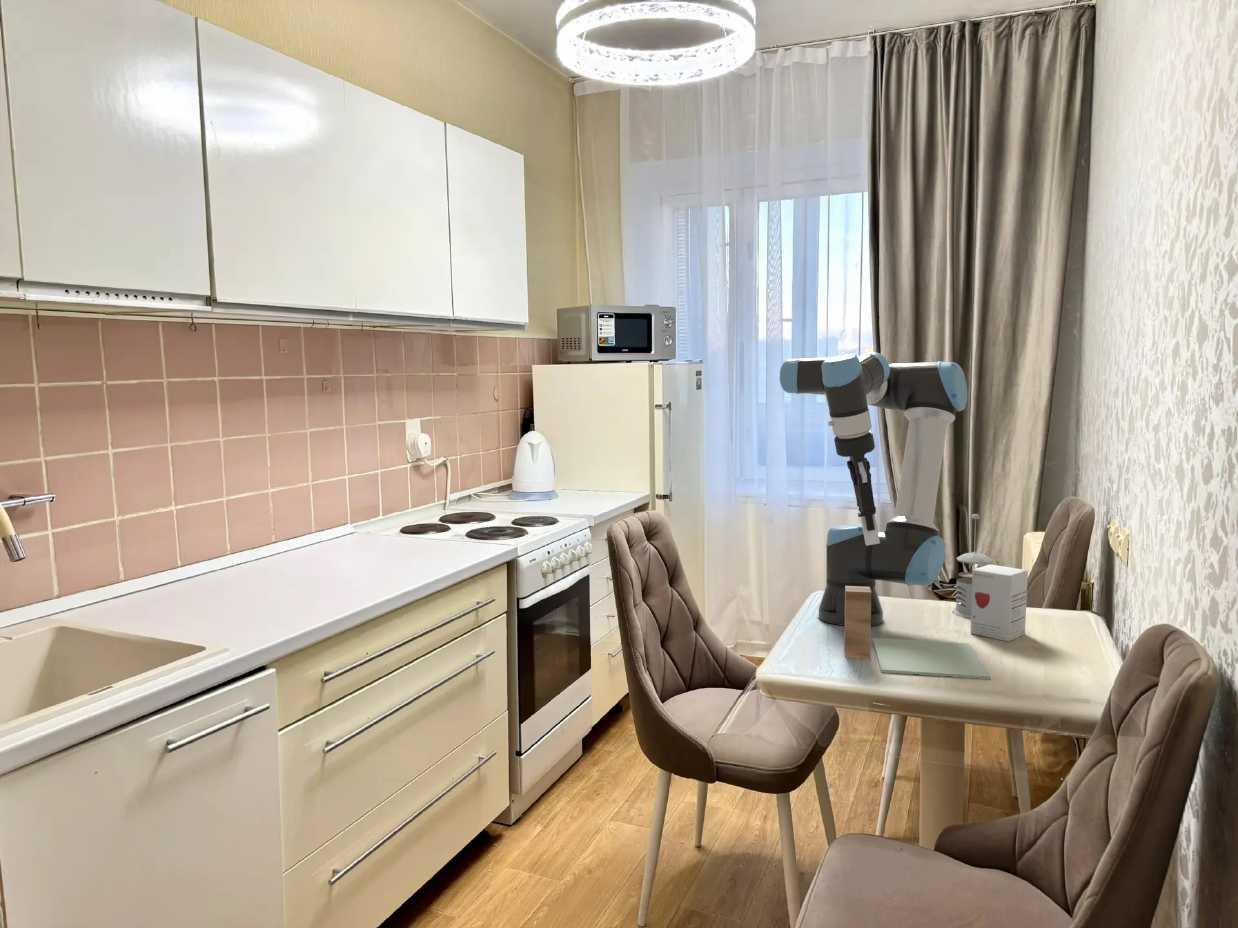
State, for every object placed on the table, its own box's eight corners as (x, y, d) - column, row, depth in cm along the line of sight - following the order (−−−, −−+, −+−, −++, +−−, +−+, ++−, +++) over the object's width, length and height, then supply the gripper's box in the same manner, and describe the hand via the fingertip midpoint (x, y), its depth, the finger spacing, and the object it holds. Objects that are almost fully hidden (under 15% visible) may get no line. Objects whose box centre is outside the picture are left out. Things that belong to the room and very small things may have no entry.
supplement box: (968, 633, 191) (970, 568, 189) (986, 626, 197) (988, 563, 195) (1009, 642, 184) (1011, 575, 183) (1026, 634, 190) (1028, 569, 189)
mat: (872, 640, 186) (872, 637, 186) (969, 645, 181) (969, 643, 181) (881, 672, 164) (881, 669, 164) (990, 679, 160) (990, 676, 160)
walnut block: (844, 650, 179) (845, 585, 178) (868, 651, 178) (869, 586, 177) (845, 657, 174) (846, 591, 173) (870, 658, 173) (871, 592, 172)
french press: (986, 608, 212) (989, 511, 210) (1003, 621, 201) (1006, 517, 199) (946, 608, 213) (949, 511, 211) (960, 620, 202) (963, 517, 200)
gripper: (829, 430, 174) (849, 536, 179) (838, 444, 161) (859, 557, 166) (866, 423, 173) (885, 529, 178) (877, 436, 160) (897, 550, 165)
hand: (872, 543), depth 172 cm, fingers closed
